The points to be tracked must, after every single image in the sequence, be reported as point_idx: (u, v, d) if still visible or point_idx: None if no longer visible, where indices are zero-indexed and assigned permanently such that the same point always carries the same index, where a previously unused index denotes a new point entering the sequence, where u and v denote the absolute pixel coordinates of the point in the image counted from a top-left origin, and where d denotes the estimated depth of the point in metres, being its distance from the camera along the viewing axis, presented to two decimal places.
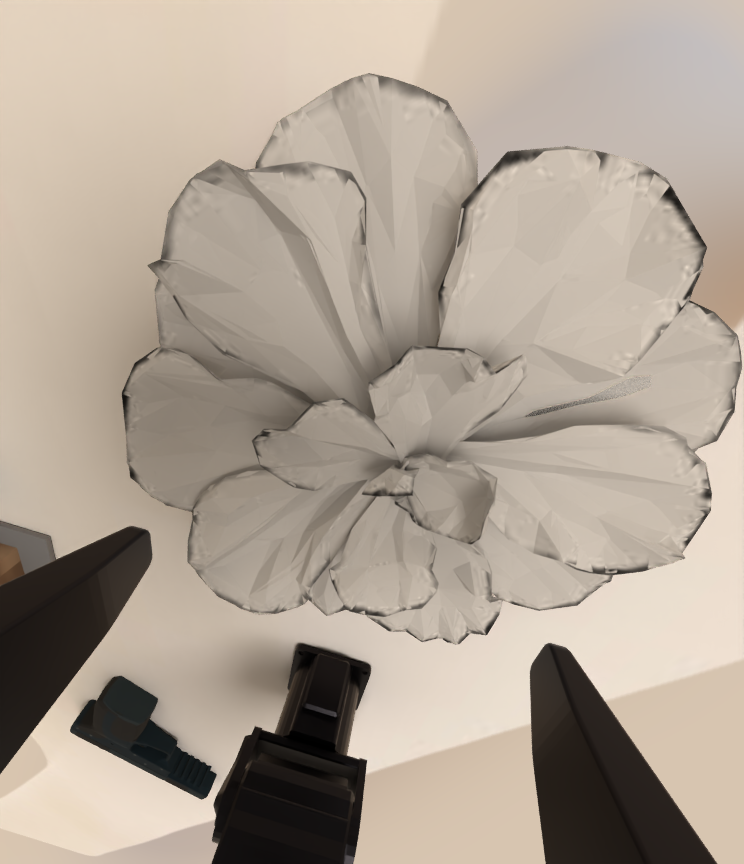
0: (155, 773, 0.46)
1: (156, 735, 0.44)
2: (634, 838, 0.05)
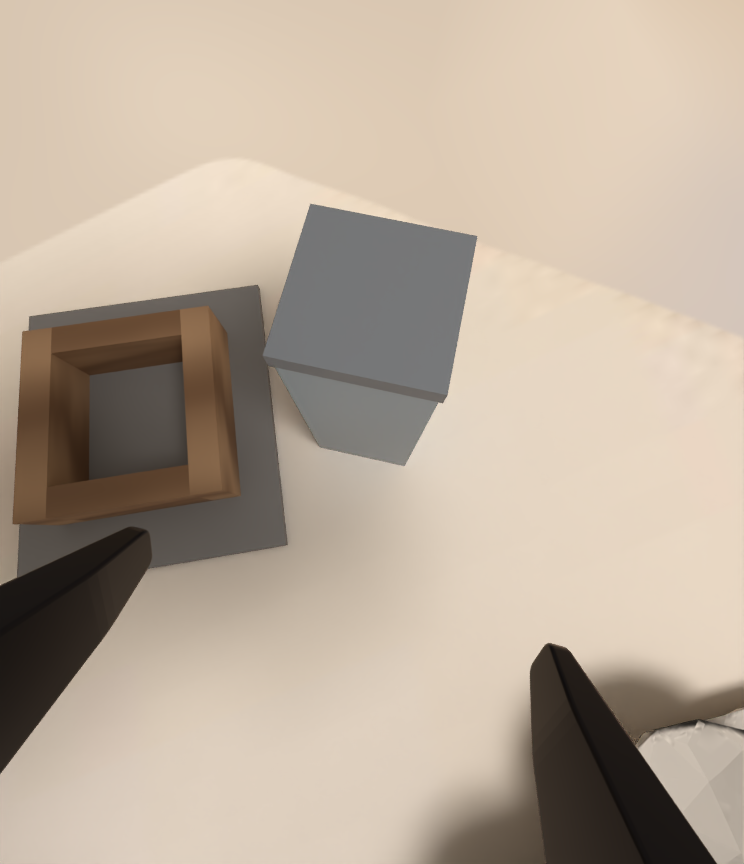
0: None
1: None
2: (634, 838, 0.05)
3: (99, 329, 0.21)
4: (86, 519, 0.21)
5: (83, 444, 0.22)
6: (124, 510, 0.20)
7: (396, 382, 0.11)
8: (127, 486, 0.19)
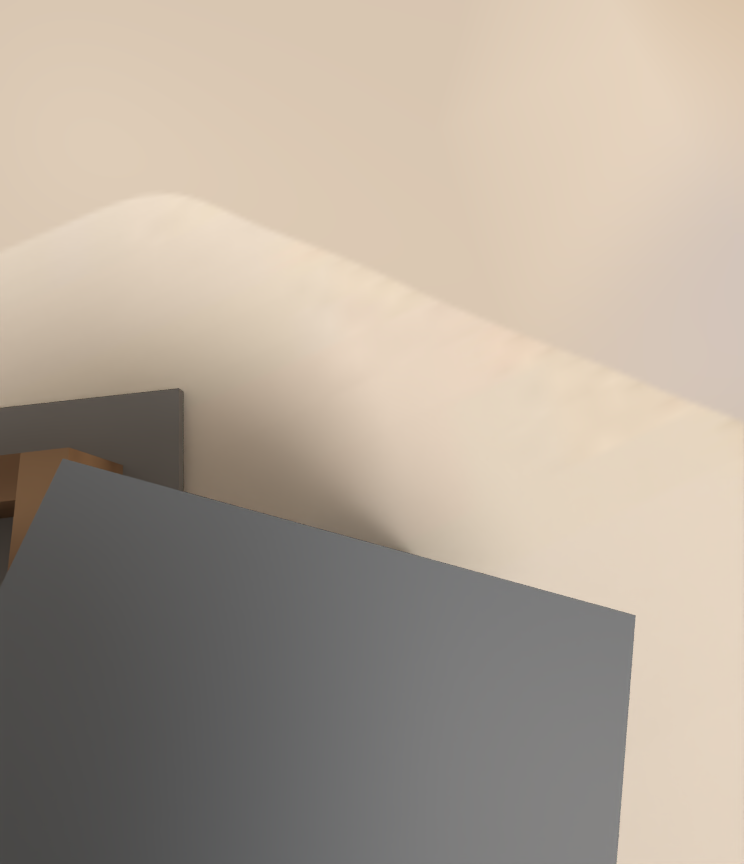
0: None
1: None
2: None
3: None
4: None
5: None
6: None
7: None
8: None
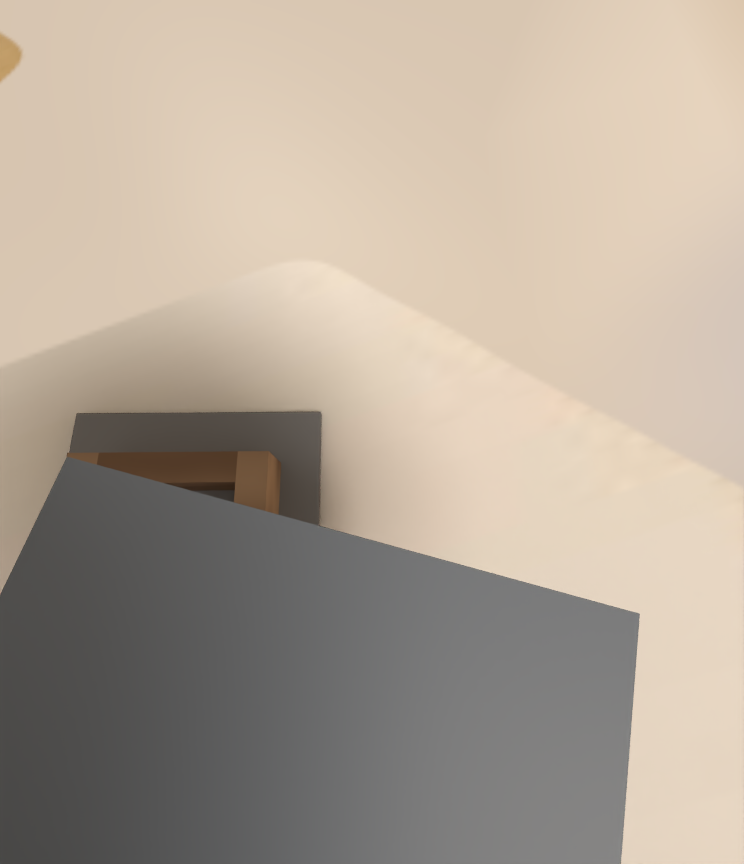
0: None
1: None
2: None
3: (149, 462, 0.19)
4: None
5: None
6: None
7: None
8: None
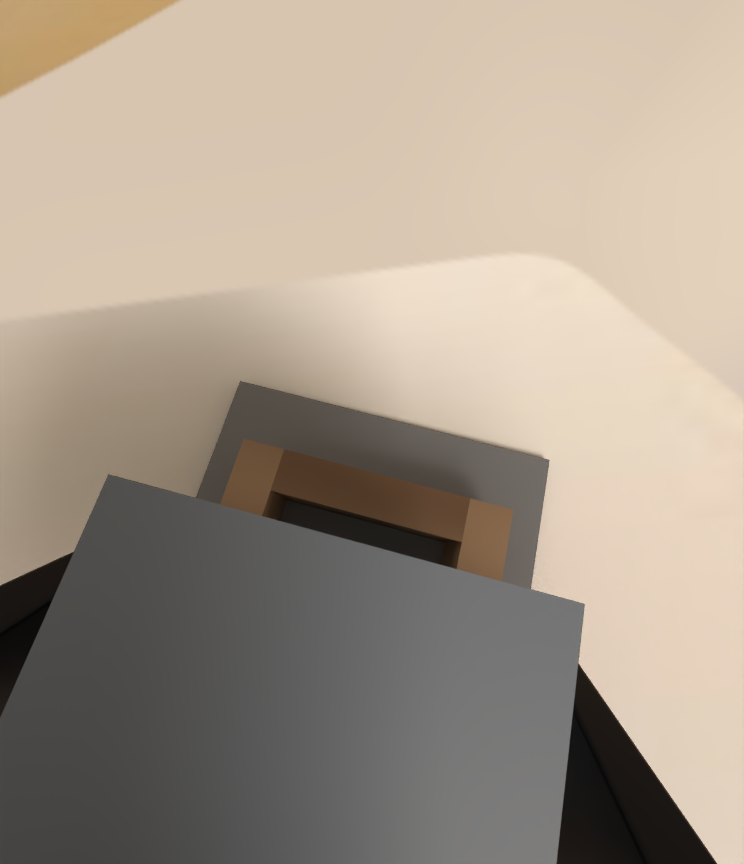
0: None
1: None
2: (634, 838, 0.05)
3: (348, 480, 0.14)
4: None
5: None
6: None
7: None
8: None
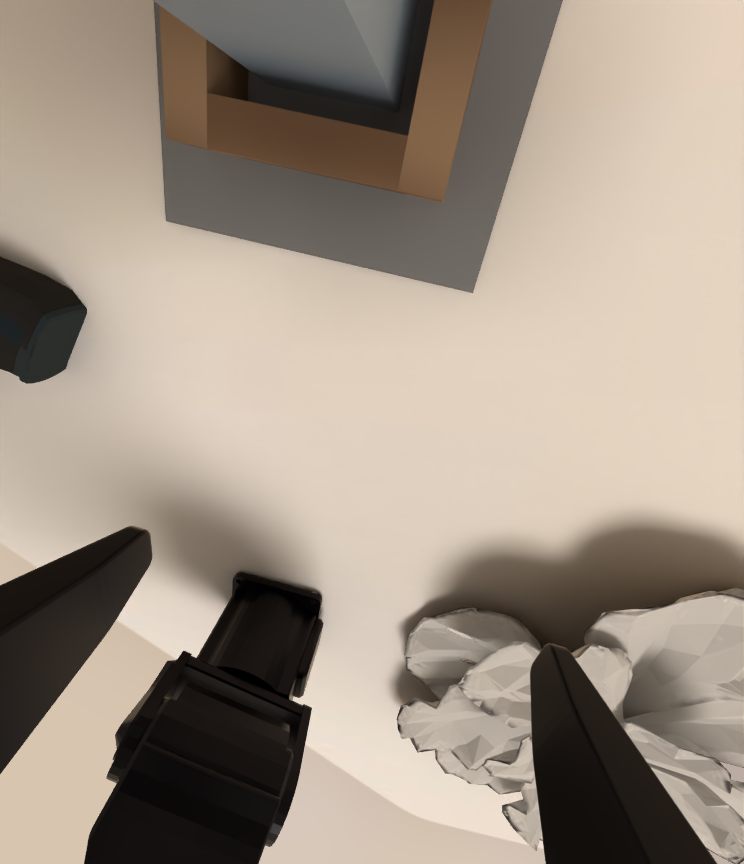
0: None
1: None
2: (634, 838, 0.05)
3: None
4: (245, 158, 0.16)
5: None
6: (299, 169, 0.15)
7: None
8: (317, 140, 0.13)
